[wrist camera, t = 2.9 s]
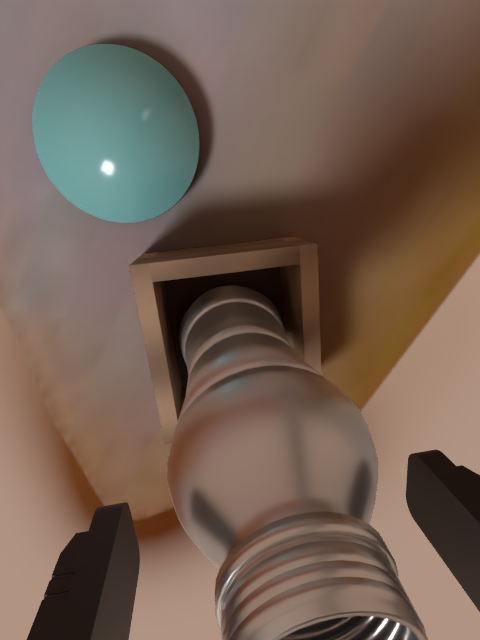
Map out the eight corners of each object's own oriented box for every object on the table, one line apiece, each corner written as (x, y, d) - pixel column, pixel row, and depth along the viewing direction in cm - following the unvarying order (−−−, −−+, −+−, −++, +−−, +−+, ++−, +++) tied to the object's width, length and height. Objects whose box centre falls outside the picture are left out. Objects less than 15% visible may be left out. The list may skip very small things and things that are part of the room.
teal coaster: (21, 59, 19) (10, 49, 18) (187, 47, 20) (187, 38, 19) (64, 229, 22) (56, 230, 21) (208, 214, 23) (208, 214, 21)
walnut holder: (143, 253, 23) (129, 265, 18) (293, 236, 24) (317, 243, 19) (170, 400, 26) (164, 443, 22) (300, 381, 27) (322, 418, 22)
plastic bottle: (169, 291, 24) (64, 617, 5) (265, 267, 24) (521, 487, 5) (194, 374, 26) (188, 828, 7) (282, 351, 26) (508, 727, 7)
